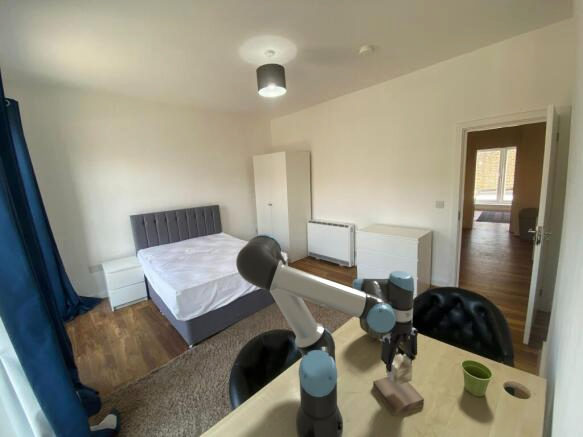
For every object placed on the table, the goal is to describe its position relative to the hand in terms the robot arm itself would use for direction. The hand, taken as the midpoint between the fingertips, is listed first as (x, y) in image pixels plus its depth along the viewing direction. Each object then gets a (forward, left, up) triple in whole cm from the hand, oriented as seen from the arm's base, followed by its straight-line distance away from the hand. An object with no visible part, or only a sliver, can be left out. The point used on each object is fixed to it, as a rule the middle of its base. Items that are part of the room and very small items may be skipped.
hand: (398, 375), depth 89 cm
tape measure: (+18, +17, -9) cm, 26 cm away
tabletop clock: (+11, +29, -9) cm, 32 cm away
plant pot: (+28, -7, -9) cm, 30 cm away
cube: (0, 0, 0) cm, 0 cm away
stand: (0, 0, -9) cm, 9 cm away
